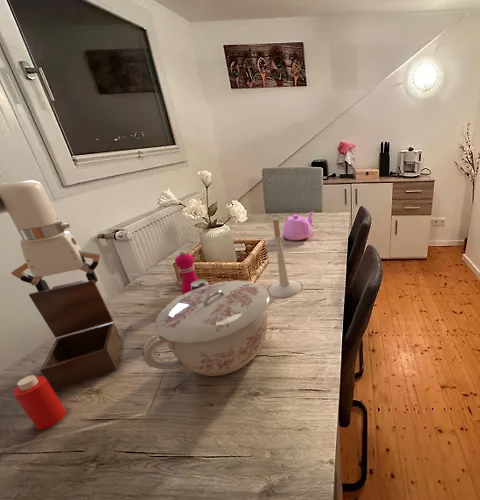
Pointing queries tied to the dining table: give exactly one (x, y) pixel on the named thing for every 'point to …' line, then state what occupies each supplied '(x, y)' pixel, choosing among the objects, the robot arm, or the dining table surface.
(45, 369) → the chest
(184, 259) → the pepper mill
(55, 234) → the robot arm
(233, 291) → the chamber pot
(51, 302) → the lid
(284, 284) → the candlestick
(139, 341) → the dining table surface
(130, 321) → the dining table surface
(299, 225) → the teapot
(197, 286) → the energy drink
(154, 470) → the dining table surface
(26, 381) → the ketchup bottle
